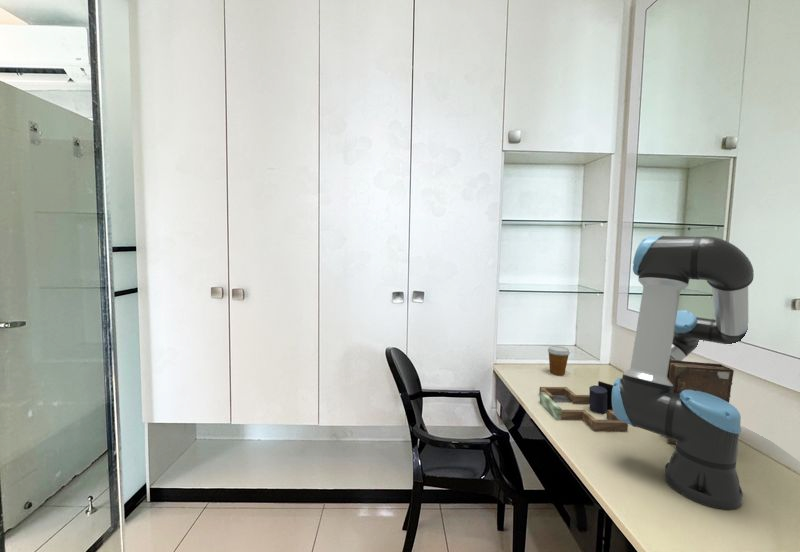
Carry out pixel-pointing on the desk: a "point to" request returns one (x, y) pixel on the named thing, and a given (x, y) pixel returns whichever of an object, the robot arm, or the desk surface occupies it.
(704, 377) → the book
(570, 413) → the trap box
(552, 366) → the disposable coffee cup
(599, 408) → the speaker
